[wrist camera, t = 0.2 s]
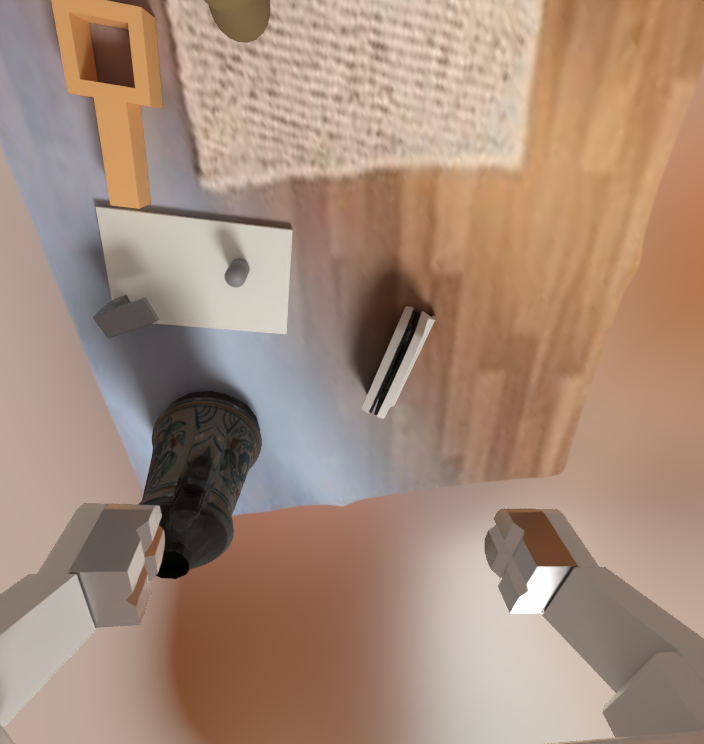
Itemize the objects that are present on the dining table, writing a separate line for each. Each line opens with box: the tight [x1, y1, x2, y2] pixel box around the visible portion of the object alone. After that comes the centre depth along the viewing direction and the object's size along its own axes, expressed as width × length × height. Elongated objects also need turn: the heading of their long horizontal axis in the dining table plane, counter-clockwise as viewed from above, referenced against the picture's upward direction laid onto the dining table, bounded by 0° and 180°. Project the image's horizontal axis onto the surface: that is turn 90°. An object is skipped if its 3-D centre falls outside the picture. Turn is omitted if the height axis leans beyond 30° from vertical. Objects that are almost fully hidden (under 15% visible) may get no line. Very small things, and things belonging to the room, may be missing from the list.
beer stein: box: [138, 391, 262, 579], centre depth 54 cm, size 16×19×25 cm
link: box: [51, 0, 163, 209], centre depth 42 cm, size 18×8×4 cm, turn 172°
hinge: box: [362, 306, 436, 419], centre depth 59 cm, size 17×5×10 cm, turn 161°
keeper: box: [93, 295, 159, 338], centre depth 51 cm, size 7×3×7 cm, turn 107°
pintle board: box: [96, 206, 293, 334], centre depth 51 cm, size 14×23×5 cm, turn 82°
